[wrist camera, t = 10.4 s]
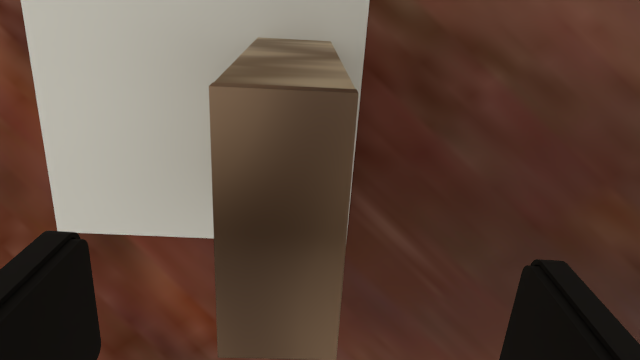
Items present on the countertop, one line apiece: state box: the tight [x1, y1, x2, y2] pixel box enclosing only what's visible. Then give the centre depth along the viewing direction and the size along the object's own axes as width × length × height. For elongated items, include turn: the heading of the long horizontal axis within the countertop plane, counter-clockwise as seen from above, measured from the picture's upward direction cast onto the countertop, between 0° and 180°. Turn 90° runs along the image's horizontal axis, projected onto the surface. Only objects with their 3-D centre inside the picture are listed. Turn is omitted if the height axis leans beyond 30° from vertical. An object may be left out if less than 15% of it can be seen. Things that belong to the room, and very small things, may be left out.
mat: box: [21, 0, 370, 240], centre depth 24 cm, size 16×14×1 cm
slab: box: [209, 37, 359, 360], centre depth 18 cm, size 4×8×12 cm, turn 177°
